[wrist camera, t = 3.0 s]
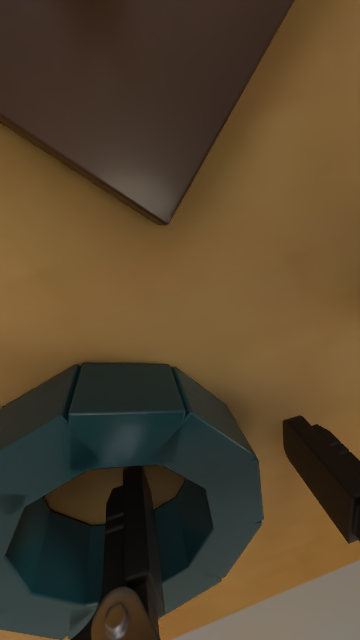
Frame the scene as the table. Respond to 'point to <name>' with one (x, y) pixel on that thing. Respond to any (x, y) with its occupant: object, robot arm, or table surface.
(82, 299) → the table surface
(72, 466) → the ring
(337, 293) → the table surface
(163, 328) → the table surface
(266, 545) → the table surface
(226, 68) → the stand
